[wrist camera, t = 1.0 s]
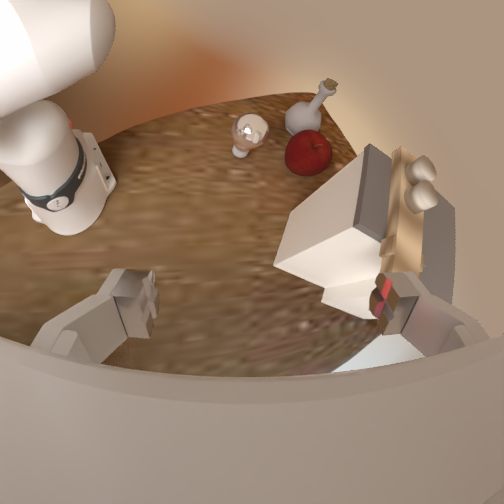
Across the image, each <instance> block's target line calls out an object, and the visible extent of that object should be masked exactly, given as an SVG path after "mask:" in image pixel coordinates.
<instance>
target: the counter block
mask: <svg viewBox="0 0 504 504" xmlns="http://www.w3.org/2000/svg"><path fill="white" fill-rule="evenodd" d="M391 165H392V159H391V158H390V157H388V156H387V155H386V154H384V153H383V152H381V151H380V150H379V149H377V148H376V147H374V146H373V145H371V144H368V145H367V146H366V147H365V149H364V151H363V152H362V153H361V154H360V155H358V156H357V157H356V158H355V159H354V160H352V161H351V162H350V163H349V164H348V165H346V166H345V167H344V168H343V169H342V170H340V171H339V172H338V173H337V174H335V175H334V176H333V177H332V178H331V179H329V180H328V181H327V182H326V183H325V184H323V185H322V186H321V187H320V188H319V189H317V190H316V191H315V192H314V193H313V194H311V195H310V196H309V197H308V198H307V199H305V200H304V201H303V202H302V203H301V204H300V205H298V206H297V207H296V208H295V209H294V210H292V211H291V212H290V215H289V218H288V222H287V225H286V228H285V231H284V234H283V237H282V240H281V243H280V246H279V249H278V252H277V255H276V258H275V261H274V264H273V266H275V267H277V268H280V269H282V270H284V271H286V272H289V273H291V274H293V275H296V276H298V277H300V278H303V279H305V280H307V281H310V282H312V283H314V284H317V285H319V286H321V287H324V288H325V290H324V294H323V297H322V301H321V302H322V303H325V304H327V305H330V306H332V307H335V308H337V309H340V310H342V311H345V312H347V313H350V314H352V315H355V316H358V317H360V318H363V319H377V318H376V317H374V316H373V315H372V313H371V311H369V310H368V309H369V298H370V295H371V292H372V291H373V290H374V289H375V288H376V284H375V280H376V277H377V275H378V274H379V273H380V268H381V262H382V258H381V257H379V253H380V247H381V240H382V239H385V235H386V227H387V218H388V209H389V197H390V184H391ZM436 193H437V196H438V203H437V205H436V206H434V207H432V208H429V209H427V210H425V211H424V217H423V239H422V253H421V254H422V255H424V259H423V270H422V272H420V273H419V280H420V281H421V282H422V283H423V285H424V286H425V287H426V288H427V290H428V291H429V292H430V294H431V295H435V296H437V297H439V298H441V299H442V300H444V301H446V302H448V303H449V304H451V305H452V296H453V295H452V294H453V284H454V271H455V208H454V207H453V206H452V205H451V204H450V203H449V202H448V201H447V200H446V199H445V198H444V197H443V196H442V195H440V194H439V193H438V192H437V191H436Z"/></svg>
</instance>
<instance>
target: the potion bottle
mask: <svg viewBox="0 0 504 504" xmlns="http://www.w3.org/2000/svg"><path fill="white" fill-rule="evenodd" d="M337 85H338V83H337V82H336V81H334V80H332V79H329V78H327V79H326V81H322V82H321V83H320V85H319V92H318V93H317V94H316V96H315V97H314V99H313V100H312V101H311V103H309V102H298V103H296V104H295V105H293V106H292V107H291V108H290V109H289V110H287V111H286V113H285V128H286V130H287V131H288V132H289V133H290V134H291V135H292V136H294V135H295V134H297V133H298V132H300V131H303V130H307V129H310V130H315V131H317V132H318V130H319V127H320V124H321V113H320V111H319V110H318V108H319V107H320V105H321V104H322V103H323V102H324V100H325V99H326V98H327V97H328V96H332V95H333V94H334V93H336V88H335V87H336V86H337Z"/></svg>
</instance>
